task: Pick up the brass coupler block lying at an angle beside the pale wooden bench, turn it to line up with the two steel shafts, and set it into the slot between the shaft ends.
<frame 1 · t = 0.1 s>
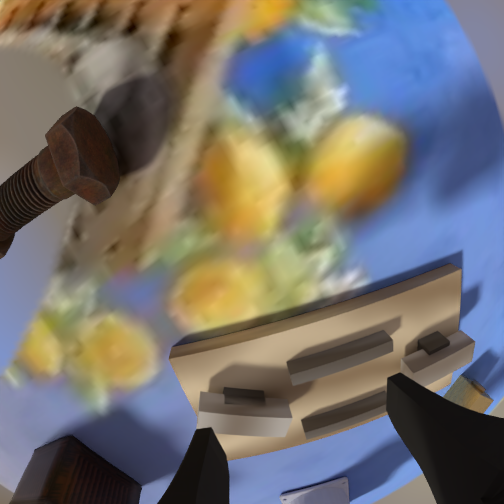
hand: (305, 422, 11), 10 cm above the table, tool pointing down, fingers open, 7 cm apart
bolt: (30, 200, 17), on the table
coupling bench: (335, 372, 22), on the table
coupler: (450, 399, 26), on the table
brown manual coffee grinder: (99, 480, 25), on the table
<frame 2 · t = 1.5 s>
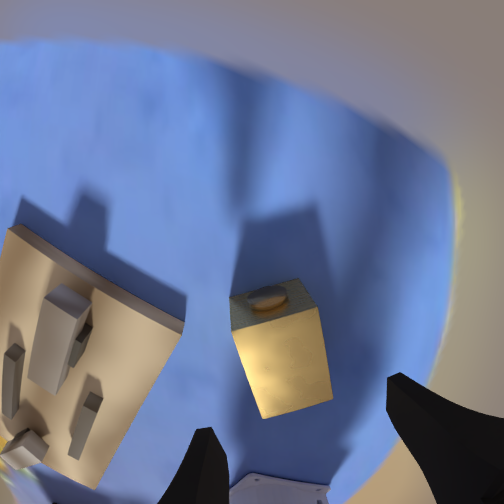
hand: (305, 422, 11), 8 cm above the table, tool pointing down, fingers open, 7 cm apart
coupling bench: (57, 390, 18), on the table
coupler: (275, 331, 18), on the table
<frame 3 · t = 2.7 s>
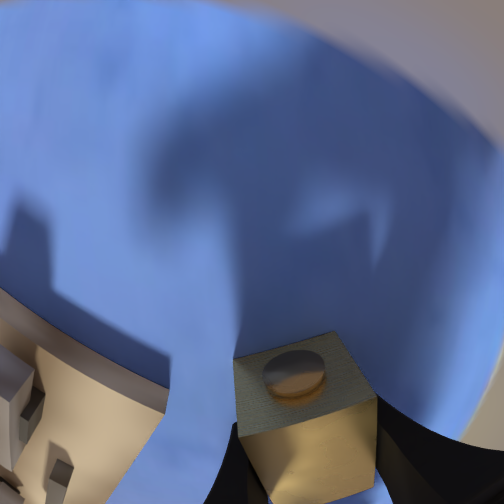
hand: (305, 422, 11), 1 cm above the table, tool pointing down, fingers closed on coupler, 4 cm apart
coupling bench: (24, 443, 12), on the table
coupler: (297, 399, 12), on the table, touching gripper
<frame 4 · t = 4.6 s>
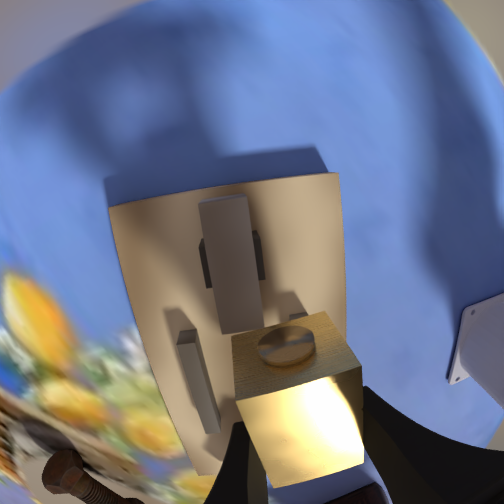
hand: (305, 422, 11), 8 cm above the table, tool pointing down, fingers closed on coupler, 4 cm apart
bolt: (113, 487, 24), on the table
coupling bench: (249, 359, 19), on the table
coupler: (291, 377, 13), point 6 cm above the table, touching gripper
brown manual coffee grinder: (364, 501, 28), on the table
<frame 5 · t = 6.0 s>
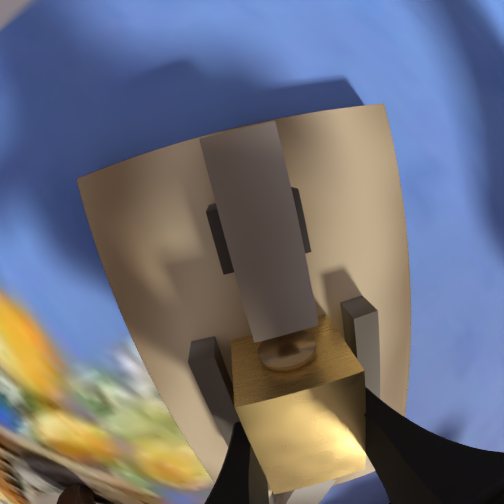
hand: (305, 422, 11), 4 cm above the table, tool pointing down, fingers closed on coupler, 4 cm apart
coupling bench: (287, 367, 15), on the table
coupler: (292, 381, 13), point 1 cm above the table, touching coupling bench, gripper
when the fingers open (4 cm above the table, at t = 6.1 s): coupler stays where it is, resting on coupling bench.
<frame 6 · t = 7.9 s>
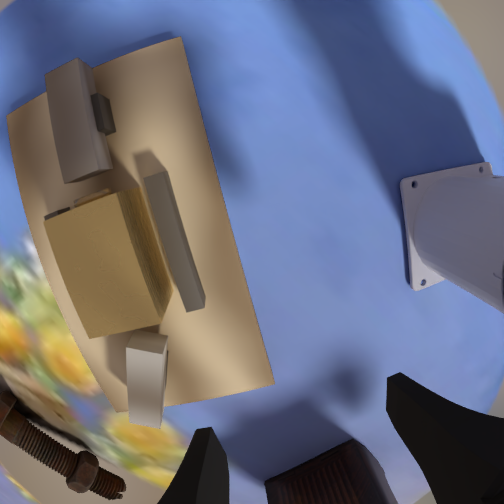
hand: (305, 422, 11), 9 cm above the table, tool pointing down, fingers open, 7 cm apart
bolt: (62, 439, 22), on the table
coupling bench: (133, 247, 18), on the table
coupler: (124, 249, 16), point 1 cm above the table, touching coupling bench
brown manual coffee grinder: (349, 466, 26), on the table
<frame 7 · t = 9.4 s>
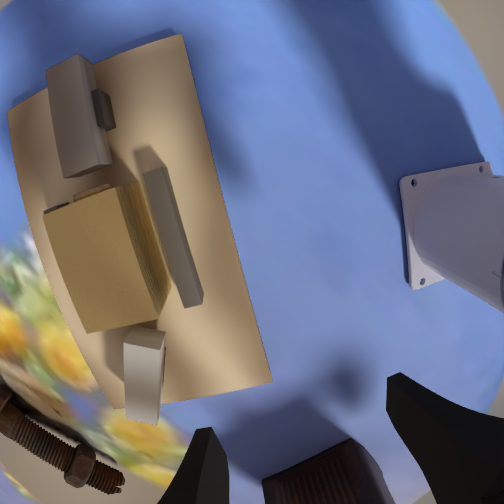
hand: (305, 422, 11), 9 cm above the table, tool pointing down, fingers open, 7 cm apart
bolt: (60, 433, 22), on the table
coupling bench: (132, 243, 18), on the table
coupler: (123, 245, 16), point 1 cm above the table, touching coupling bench
brown manual coffee grinder: (347, 466, 26), on the table
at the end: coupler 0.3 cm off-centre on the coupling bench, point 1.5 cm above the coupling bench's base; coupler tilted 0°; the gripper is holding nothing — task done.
